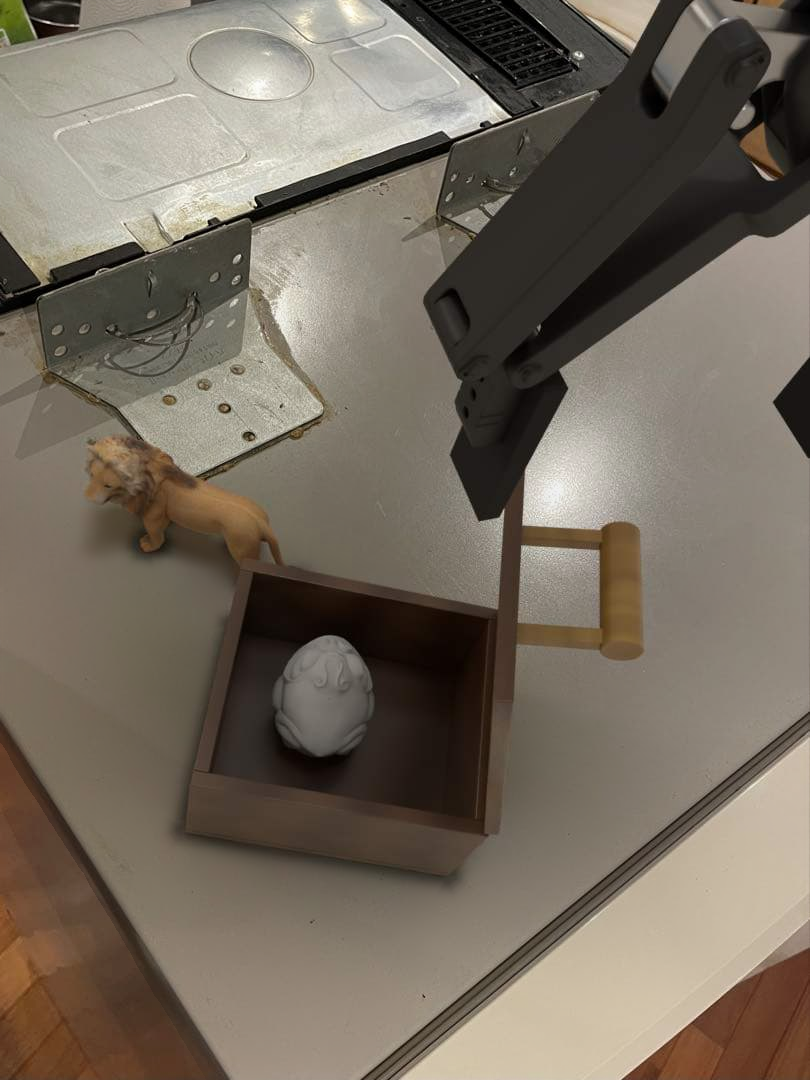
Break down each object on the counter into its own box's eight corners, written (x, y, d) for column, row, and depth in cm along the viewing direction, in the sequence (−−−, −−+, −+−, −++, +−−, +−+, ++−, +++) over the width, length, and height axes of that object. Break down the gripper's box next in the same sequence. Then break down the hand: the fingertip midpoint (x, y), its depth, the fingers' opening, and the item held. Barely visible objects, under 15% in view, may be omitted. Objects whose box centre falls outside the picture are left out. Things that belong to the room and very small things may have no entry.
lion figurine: (76, 551, 65) (66, 472, 57) (104, 487, 68) (98, 404, 60) (294, 609, 66) (312, 539, 58) (312, 543, 69) (332, 469, 61)
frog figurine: (367, 680, 63) (389, 632, 58) (358, 786, 60) (381, 746, 54) (273, 667, 62) (285, 616, 57) (258, 774, 59) (269, 732, 53)
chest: (184, 832, 57) (189, 785, 50) (232, 625, 64) (242, 557, 57) (447, 876, 59) (489, 837, 51) (463, 670, 66) (502, 609, 59)
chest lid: (492, 701, 37) (656, 713, 37) (509, 424, 45) (646, 432, 44) (483, 834, 51) (603, 845, 51) (498, 605, 59) (602, 613, 58)
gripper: (641, -212, 11) (346, 620, 29) (1676, -108, 20) (964, 485, 38) (423, -464, 15) (277, 420, 32) (1391, -282, 23) (859, 338, 41)
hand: (646, 456), depth 35 cm, fingers open, 13 cm apart
